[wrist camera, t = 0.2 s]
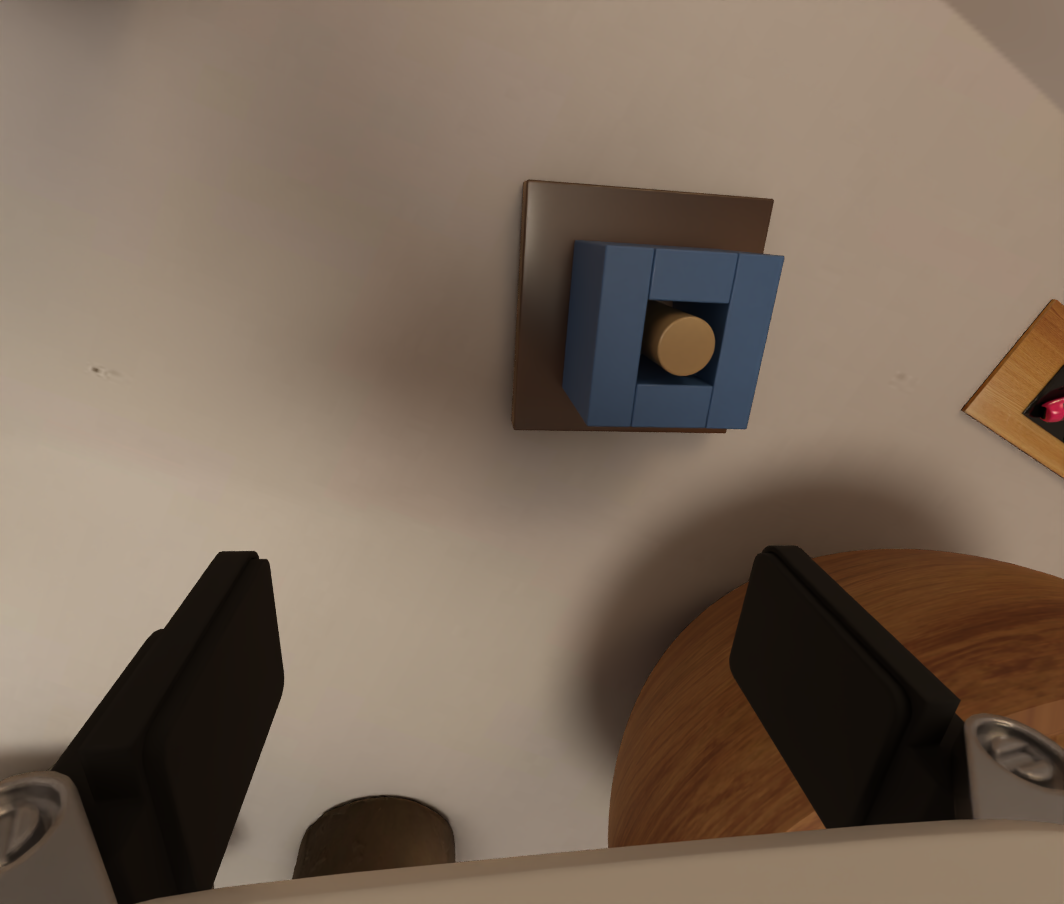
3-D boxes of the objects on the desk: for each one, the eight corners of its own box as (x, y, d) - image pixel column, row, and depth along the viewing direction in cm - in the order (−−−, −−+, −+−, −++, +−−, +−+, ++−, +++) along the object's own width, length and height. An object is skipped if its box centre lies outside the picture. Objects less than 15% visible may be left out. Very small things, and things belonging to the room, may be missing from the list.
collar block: (574, 239, 22) (606, 244, 17) (718, 249, 23) (785, 256, 18) (561, 388, 24) (586, 427, 19) (693, 391, 25) (747, 429, 20)
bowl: (940, 374, 27) (1431, 528, 14) (981, 699, 37) (1289, 979, 24) (486, 580, 29) (514, 913, 15) (642, 842, 39) (746, 1187, 25)
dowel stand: (523, 181, 22) (549, 165, 16) (760, 200, 23) (867, 192, 17) (510, 421, 26) (528, 483, 19) (715, 425, 27) (790, 484, 21)
